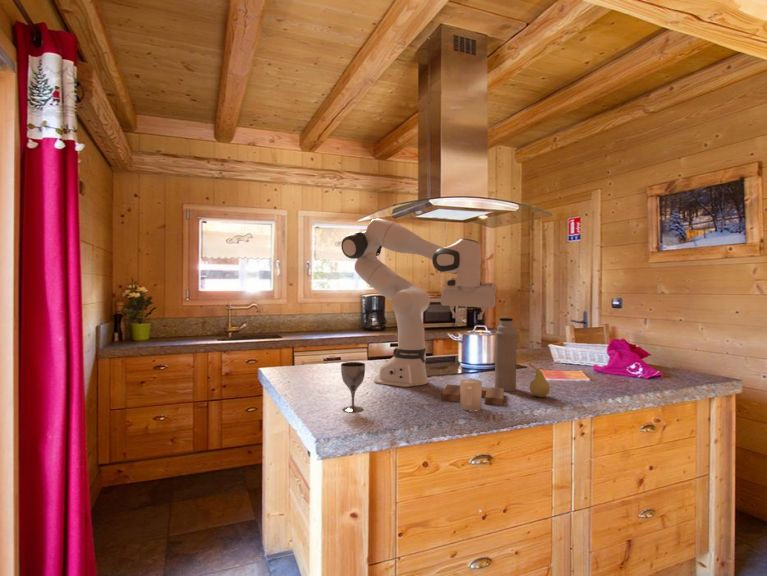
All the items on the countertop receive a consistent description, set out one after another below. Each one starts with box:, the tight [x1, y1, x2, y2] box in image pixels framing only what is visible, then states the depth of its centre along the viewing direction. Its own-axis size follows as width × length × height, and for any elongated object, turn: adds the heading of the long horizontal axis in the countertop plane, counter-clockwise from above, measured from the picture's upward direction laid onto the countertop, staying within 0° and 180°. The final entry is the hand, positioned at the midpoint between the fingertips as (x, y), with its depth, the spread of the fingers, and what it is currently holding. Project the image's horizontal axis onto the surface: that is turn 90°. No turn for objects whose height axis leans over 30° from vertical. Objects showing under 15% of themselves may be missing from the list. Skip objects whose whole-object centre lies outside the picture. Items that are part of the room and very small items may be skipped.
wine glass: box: [340, 361, 366, 414], centre depth 145 cm, size 8×8×15 cm
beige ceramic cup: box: [459, 378, 483, 412], centre depth 146 cm, size 11×7×9 cm, turn 164°
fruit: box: [528, 363, 551, 398], centre depth 162 cm, size 7×8×12 cm
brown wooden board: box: [441, 384, 505, 406], centre depth 160 cm, size 21×14×2 cm, turn 74°
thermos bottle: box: [494, 317, 518, 393], centre depth 173 cm, size 8×8×28 cm
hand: (467, 318), depth 165 cm, fingers open, 8 cm apart
